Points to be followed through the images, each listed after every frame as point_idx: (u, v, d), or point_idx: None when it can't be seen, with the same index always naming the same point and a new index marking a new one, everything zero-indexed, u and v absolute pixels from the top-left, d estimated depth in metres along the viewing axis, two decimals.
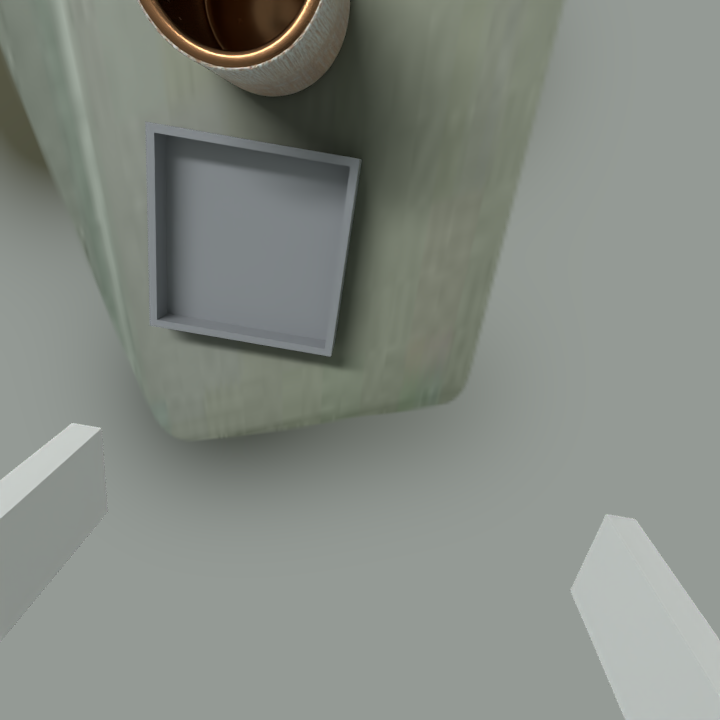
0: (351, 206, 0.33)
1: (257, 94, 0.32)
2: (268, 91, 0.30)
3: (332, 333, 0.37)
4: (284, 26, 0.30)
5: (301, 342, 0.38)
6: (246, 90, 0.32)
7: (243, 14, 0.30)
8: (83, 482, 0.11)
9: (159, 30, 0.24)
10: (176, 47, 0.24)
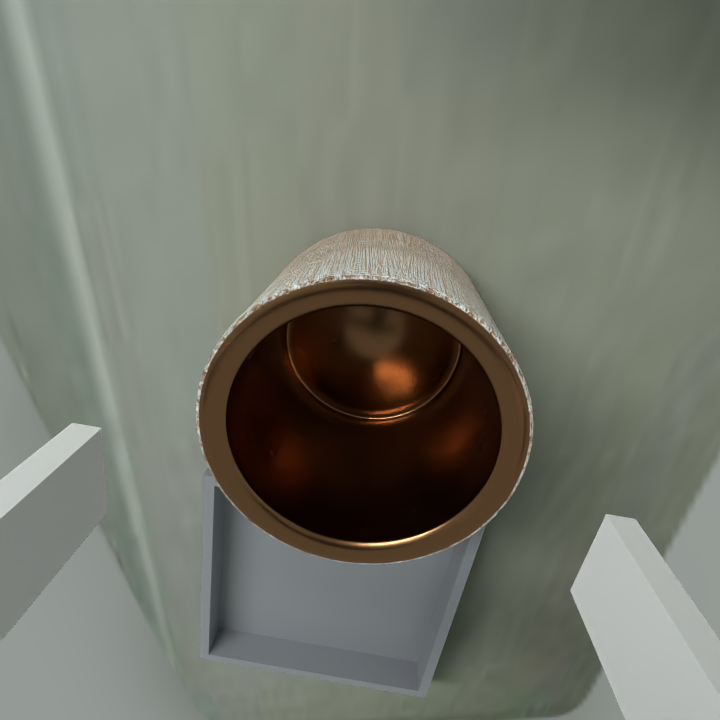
0: (469, 567, 0.26)
1: None
2: None
3: (429, 678, 0.30)
4: (395, 376, 0.22)
5: (387, 677, 0.31)
6: None
7: (339, 362, 0.22)
8: (83, 482, 0.11)
9: (250, 520, 0.16)
10: (274, 537, 0.16)
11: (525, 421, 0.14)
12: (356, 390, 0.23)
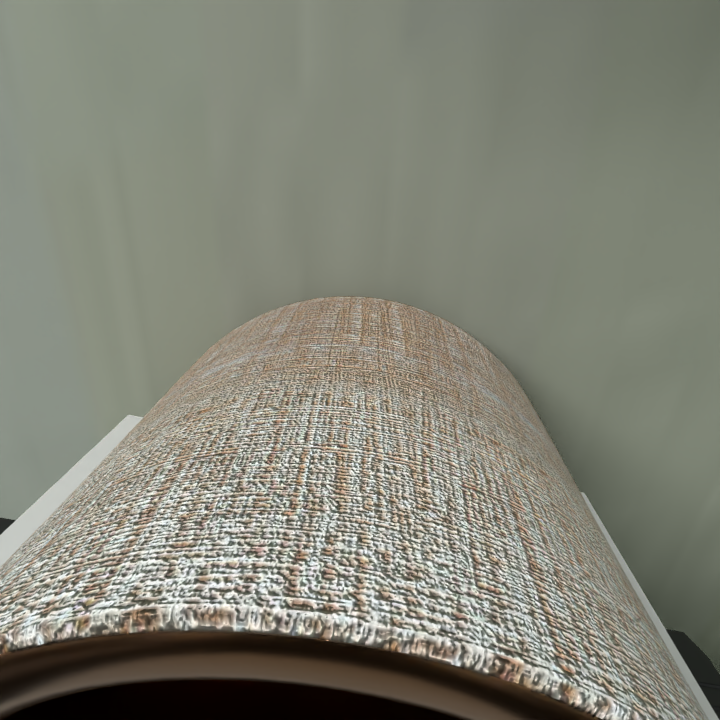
0: None
1: None
2: None
3: None
4: None
5: None
6: None
7: None
8: None
9: None
10: None
11: None
12: None
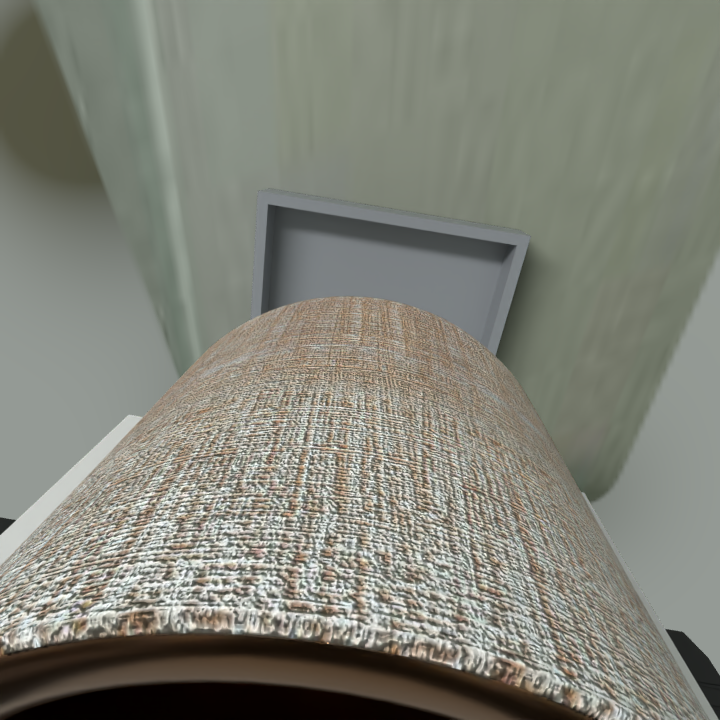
0: (512, 292, 0.26)
1: None
2: None
3: None
4: None
5: None
6: None
7: None
8: None
9: None
10: None
11: None
12: None
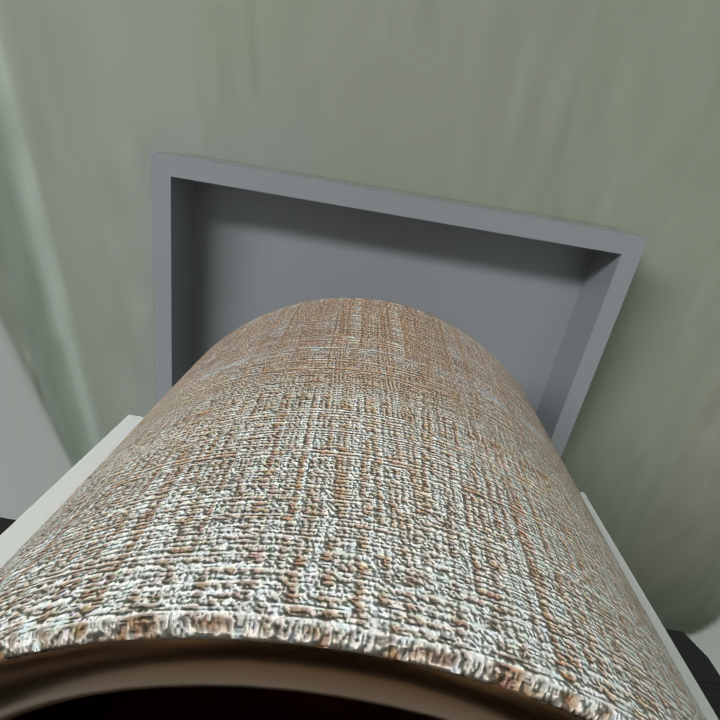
0: (606, 336, 0.15)
1: None
2: None
3: None
4: None
5: None
6: None
7: None
8: None
9: None
10: None
11: None
12: None
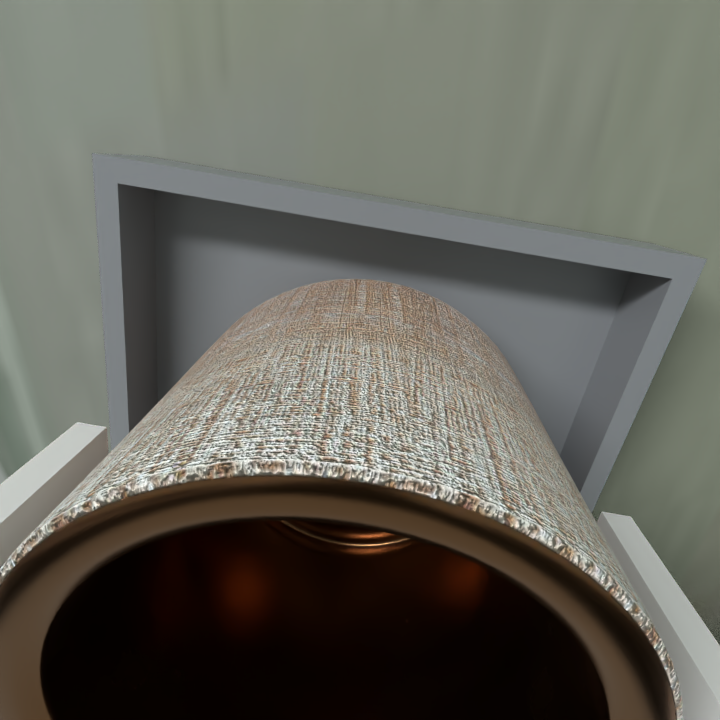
0: (649, 376, 0.12)
1: None
2: None
3: None
4: None
5: None
6: None
7: None
8: None
9: None
10: None
11: None
12: None
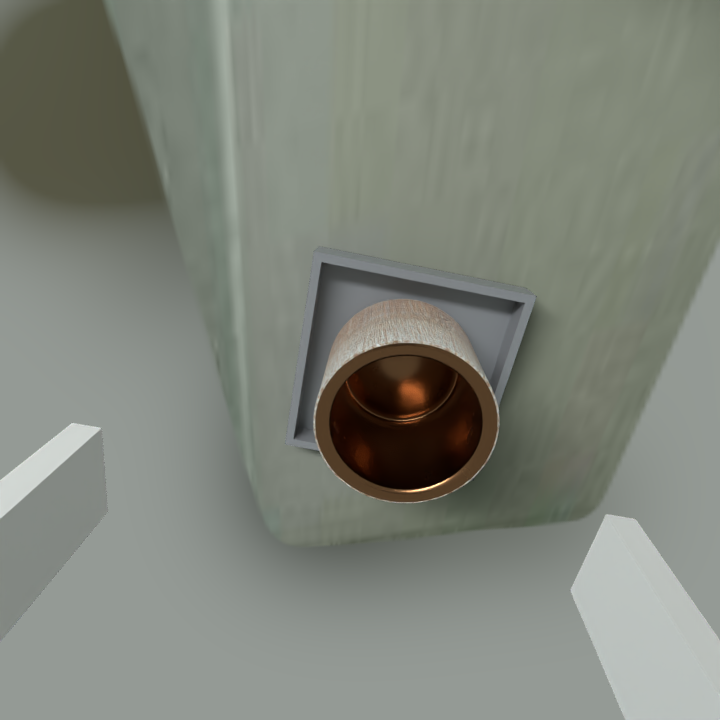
0: (519, 340, 0.32)
1: None
2: None
3: None
4: (415, 392, 0.34)
5: None
6: None
7: (379, 382, 0.34)
8: (83, 482, 0.11)
9: (337, 475, 0.28)
10: (349, 486, 0.28)
11: (495, 418, 0.26)
12: (388, 401, 0.35)
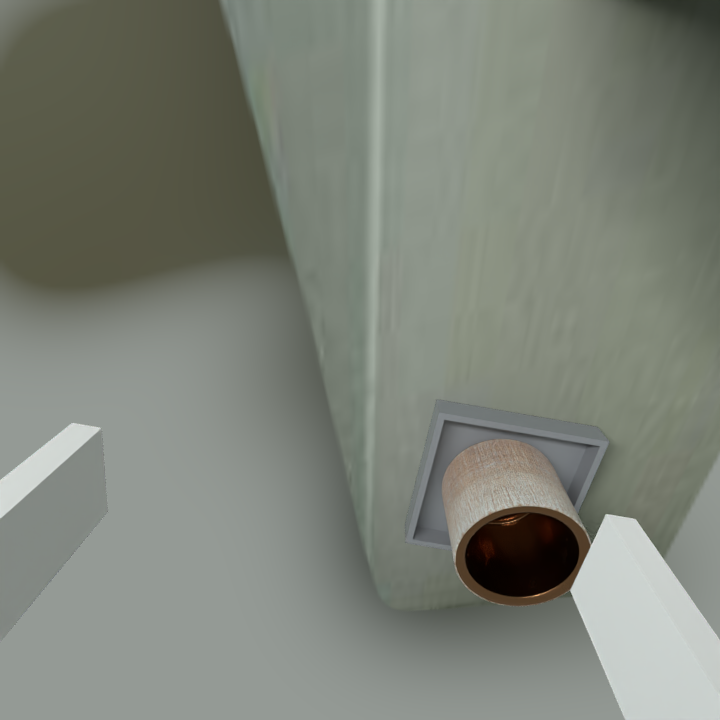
0: (595, 471, 0.42)
1: None
2: None
3: None
4: None
5: None
6: None
7: None
8: (83, 482, 0.11)
9: (468, 588, 0.38)
10: (477, 595, 0.38)
11: None
12: None
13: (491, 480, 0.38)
